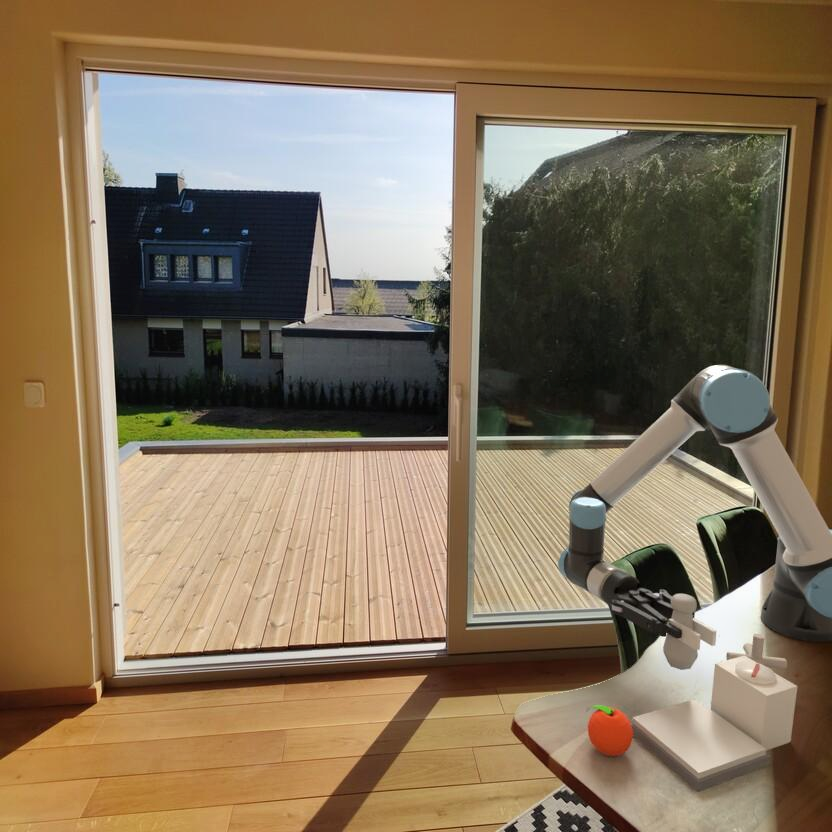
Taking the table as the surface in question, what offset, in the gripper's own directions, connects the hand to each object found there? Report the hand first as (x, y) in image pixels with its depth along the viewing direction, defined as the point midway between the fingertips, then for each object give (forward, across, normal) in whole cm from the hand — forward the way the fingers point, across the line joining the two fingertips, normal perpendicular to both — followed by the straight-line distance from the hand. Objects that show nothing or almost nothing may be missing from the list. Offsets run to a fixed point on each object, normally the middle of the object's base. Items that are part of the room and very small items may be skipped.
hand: (706, 640), depth 111 cm
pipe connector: (-2, -16, -14) cm, 21 cm away
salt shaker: (-5, 0, -8) cm, 9 cm away
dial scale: (+7, +4, -14) cm, 16 cm away
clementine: (+2, +22, -14) cm, 26 cm away
